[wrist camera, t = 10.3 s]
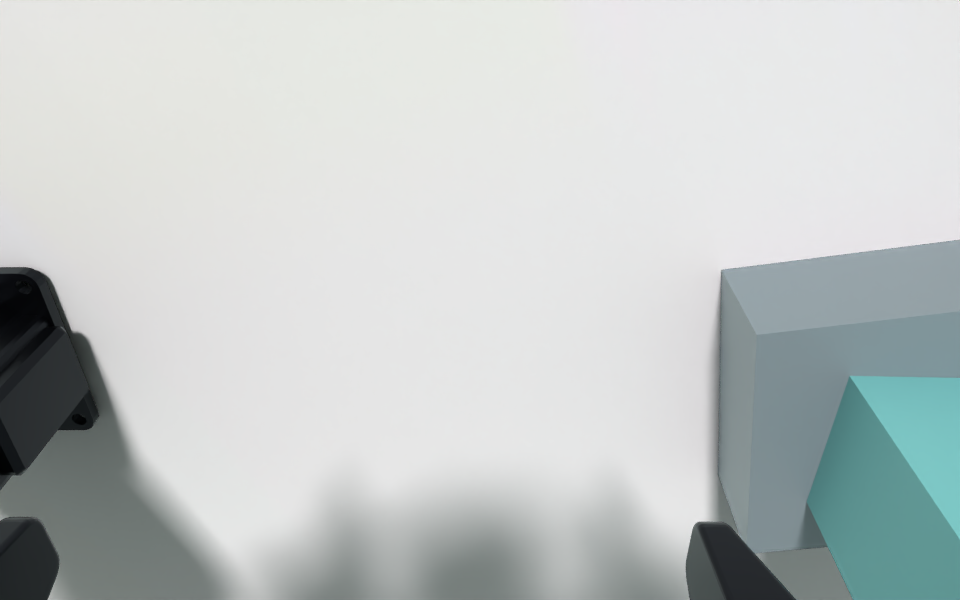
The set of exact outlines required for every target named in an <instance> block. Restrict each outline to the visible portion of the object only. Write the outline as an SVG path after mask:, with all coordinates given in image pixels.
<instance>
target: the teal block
mask: <svg viewBox="0 0 960 600" xmlns="http://www.w3.org/2000/svg"><path fill="white" fill-rule="evenodd" d="M807 504H808V506H809V508H810V510H811V512H812V514H813V516H814V518H815V520H816V523H817V525H818V527H819V529H820V531H821V533H822V535H823V537H824V540H825V542H826V544H827V546H828V548H829V550H830V552H831V554H832V556H833V559H834V561H835V563H836V565H837V567H838V569H839V571H840V573H841V575H842V578H843V580H844V582H845V584H846V586H847V588H848V590H849V592H850V594H851V597H852V599H853V600H960V378H942V377H885V376H849V379H848V382H847V385H846V388H845V391H844V393H843V396H842V399H841V402H840V405H839V408H838V411H837V414H836V417H835V420H834V423H833V426H832V429H831V432H830V435H829V437H828V440H827V443H826V446H825V449H824V452H823V455H822V458H821V461H820V464H819V467H818V470H817V473H816V476H815V479H814V481H813V484H812V487H811V490H810V493H809V496H808V499H807Z"/></svg>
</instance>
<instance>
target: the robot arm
mask: <svg viewBox="0 0 960 600" xmlns="http://www.w3.org/2000/svg"><path fill="white" fill-rule="evenodd" d="M23 281H26V282H27V283H29V284H30V285H31V287H29V286H27V285H26V284H25V283H24V282H23ZM81 415H82V416H81ZM83 416H84V417H83ZM98 417H99V413H98V410H97V407H96V405H95V402H94V400H93V397H92V395H91V392H90V390H89V386H88V384H87V381H86V379H85V376H84V374H83V371H82V369H81V366H80V364H79V361H78V359H77V356H76V354H75V351H74V349H73V346H72V344H71V341H70V338H69V336H68V334H67V332H66V330H65V327H64V325H63V322H62V320H61V317H60V315H59V312H58V309H57V307H56V304H55V302H54V299H53V297H52V294H51V292H50V289H49V287H48V284H47V282H46V280H45V278H44V277H43V275H42V274H40V273H39V272H38V271H36V270H34V269H32V268H26V267H2V268H0V490H1V489H2V487H3V486H4V485H5V484H6V482H7V481H8V480H9V479H10V477H11V476H12V475H22V474H23V473H24V472H25V471H26V470H27V468H28V467H29V466H30V465H31V463H32V462H33V461H34V460H35V458H36V457H37V456H38V454H39V453H40V452H41V451H42V449H43V448H44V447H45V445H46V444H47V443H48V442H49V440H50V439H51V438H52V437H53V435H54V434H55V433H56V431H57V430H87V429H90V428H91V427H92V426H93V425H94V424H95V422H96V421H97V419H98ZM58 569H59V555H58V553H57V551H56V549H55V547H54V545H53V543H52V541H51V539H50V537H49V535H48V533H47V531H46V529H45V527H44V525H43V523H42V522H41V521H40V520H39V519H37V518H35V517H9V518H5V519H3V520H1V521H0V600H48V598H49V595H50V592H51V590H52V587H53V584H54V582H55V579H56V576H57V573H58ZM686 578H687V585H688V591H689V597H690V600H796V599H795V598H794V597H793V596H792V595H791V594H790V592H789V591H788V590H787V589H786V588H785V587H784V586H783V585H782V584H781V582H780V581H779V580H778V579H777V578H776V577H775V576H774V575H773V573H772V572H771V571H770V570H769V569H768V568H767V567H766V566H765V565H764V563H763V562H762V561H761V560H760V559H759V558H758V557H757V556H756V555H755V553H754V552H753V551H752V550H751V549H750V548H749V547H748V546H747V545H746V543H745V542H744V541H743V540H742V539H741V538H740V537H739V536H738V534H737V533H736V532H735V531H734V530H733V529H732V528H731V527H730V526H729V525H728V524H726V523H724V522H697V523H696V524H695V525H694V527H693V530H692V535H691V540H690V545H689V549H688V554H687V559H686Z"/></svg>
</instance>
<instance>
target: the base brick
mask: <svg viewBox="0 0 960 600" xmlns="http://www.w3.org/2000/svg"><path fill="white" fill-rule="evenodd" d="M849 376H885V377H942V378H960V240H954V241H946V242H938V243H931V244H923V245H915V246H907V247H899V248H891V249H883V250H875V251H867V252H859V253H852V254H844V255H836V256H828V257H820V258H812V259H804V260H796V261H788V262H780V263H773V264H765V265H757V266H749V267H741V268H733V269H725V270H722V273H721V335H720V397H719V458H718V475H719V478H720V481H721V484H722V487H723V490H724V492H725V495H726V498H727V501H728V504H729V506H730V509H731V512H732V515H733V518H734V521H735V523H736V526H737V529H738V532H739V535H740V538H741V539H742V540H743V541H744V542H745V543H746V545H747V546H748V547H749V548H750V549H751V550H752V551H753V552H754V553H762V552H774V551H785V550H797V549H809V548H821V547H828V546H827V544H826V542H825V540H824V537H823V535H822V533H821V531H820V529H819V527H818V525H817V523H816V520H815V518H814V516H813V514H812V512H811V510H810V508H809V506H808V504H807V499H808V496H809V493H810V490H811V487H812V484H813V481H814V479H815V476H816V473H817V470H818V467H819V464H820V461H821V458H822V455H823V452H824V449H825V446H826V443H827V440H828V437H829V435H830V432H831V429H832V426H833V423H834V420H835V417H836V414H837V411H838V408H839V405H840V402H841V399H842V396H843V393H844V391H845V388H846V385H847V382H848V379H849Z"/></svg>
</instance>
